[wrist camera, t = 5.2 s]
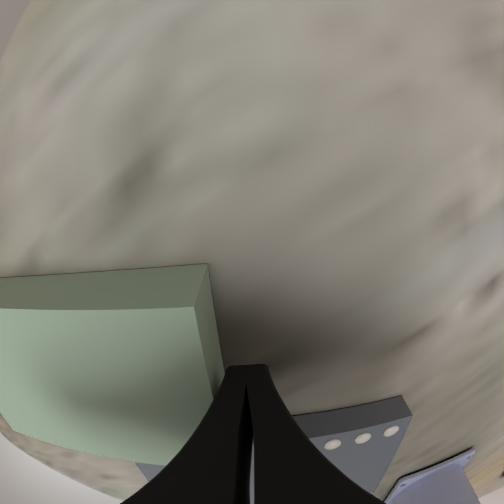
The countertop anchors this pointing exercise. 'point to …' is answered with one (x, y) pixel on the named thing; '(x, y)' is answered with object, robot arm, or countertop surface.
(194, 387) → the thick sage green slab
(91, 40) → the countertop surface
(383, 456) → the ticket body
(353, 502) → the robot arm
